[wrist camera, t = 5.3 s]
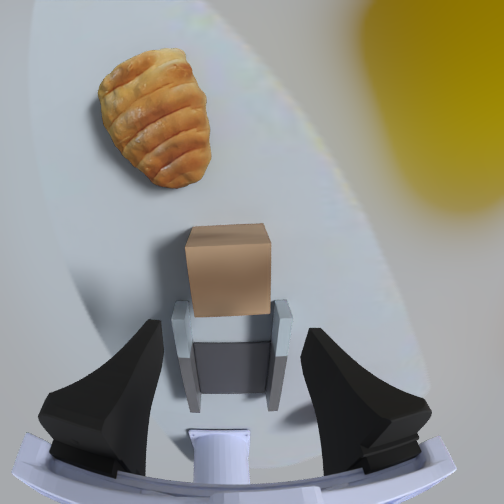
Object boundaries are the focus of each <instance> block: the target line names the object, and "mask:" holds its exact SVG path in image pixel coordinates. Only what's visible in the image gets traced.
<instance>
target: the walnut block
mask: <svg viewBox="0 0 504 504" xmlns="http://www.w3.org/2000/svg"><path fill="white" fill-rule="evenodd" d="M185 252H186V260H187V268H188V276H189V283H190V290H191V296H192V303H193V309H194V316H195V317H221V316H242V315H258V314H270V295H271V241H270V239H269V236H268V234H267V231H266V229H265V226H264V224H263V223H260V224H236V225H216V226H198V227H193V228H192V230H191V233H190V235H189V238H188V241H187V243H186V246H185Z"/></svg>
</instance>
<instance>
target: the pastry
mask: <svg viewBox="0 0 504 504" xmlns="http://www.w3.org/2000/svg"><path fill="white" fill-rule="evenodd" d="M98 97H99V99H100V103H101V113H102V120H103V124H104V126H105V128H106V129H107V131H108V133H109V134H110V135H111V138H112V140H113V142H114V144H115V146H116V147H117V148H118V149H119V150H120V152H121V153H122V155H123V156H124V157H125V158H126V159H128V160H129V161H130V162H131V164H132V165H133V166H134V167H136V168H138V169H139V170H140V171H141V172H143V173H144V174H145V175H146V176H147V177H148V178H149V179H150V181H151V182H152V183H154V184H155V185H158V186H161V187H167V188H176V189H178V188H181V187H185V186H187V185H189V184H192V183H195V182H197V181H199V180H201V178H202V177H203V175H204V173H205V171H206V169H207V166H208V164H209V163H210V160H211V149H210V143H209V136H210V125H209V120H208V117H207V112H206V103H207V99H206V95H205V93H204V92H203V91H202V90H201V89H200V88H199V86H198V84H197V81H196V79H195V77H194V75H193V73H192V68H191V66H190V64H189V63H188V62H187V61H186V54H185V52H184V51H182V50H180V49H177V48H171V49H169V48H163V49H160V50H151V51H146V52H144V53H141V54H140V55H137V56H134V57H132V58H130V59H128V60H127V61H125V62H123V63H121V64H119V65H118V66H117V67H116V68H114V70H113V71H112V72H111V73H110V74H108V75H107V76H106V77H105V78H104V79H103V81H102V83H101V84H100V86H99V90H98Z"/></svg>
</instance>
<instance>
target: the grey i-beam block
mask: <svg viewBox="0 0 504 504" xmlns="http://www.w3.org/2000/svg"><path fill="white" fill-rule="evenodd" d="M171 322H172V328H173V333H174V339H175V344H176V350H177V355H178V360H179V365H180V370H181V374H182V379H183V384H184V388H185V392H186V397H187V401H188V405H189V409H190V412H192V413H200V404H201V394H241V393H264V392H265V388H266V393H265V394H266V400H267V407H268V411H278V407H279V402H280V396H281V391H282V385H283V379H284V374H285V368H286V362H287V356H288V349H289V343H290V336H291V330H292V323H293V316H292V313H291V310H290V307H289V305H288V302H287V300H275V304H274V315H273V326H272V337H271V347H270V341H269V342H238V343H196V342H194V346H193V338H192V330H191V322H190V313H189V304H188V301H176V303H175V307H174V311H173V314H172V318H171ZM194 348H195V353H194ZM269 350H270V356H269ZM195 355H196V360H195ZM268 360H269V366H268ZM196 362H197V367H196ZM197 369H198V373H197ZM267 370H268V375H267ZM198 376H199V380H198ZM266 379H267V384H266ZM199 382H200V386H199ZM200 388H201V392H200Z"/></svg>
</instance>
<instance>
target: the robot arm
mask: <svg viewBox="0 0 504 504" xmlns="http://www.w3.org/2000/svg"><path fill="white" fill-rule="evenodd" d="M163 355H164V346H163V337H162V327H161V321H160V320H151V319H148V320H147V321H146V322H145V324H144V325H143V326H142V327H141V328H140V329H139V331H138V332H137V333H136V334H135V335H134V336H133V337H132V338H131V339H130V340H129V341H128V343H127V344H126V345H125V346H124V347H123V348H122V349H121V350H120V351H118V352H117V353H116V354H115V355H114V356H113V357H112V358H111V359H110V360H108V361H107V362H106V363H105V364H103V365H102V366H101V367H100V368H98V369H97V370H95V371H94V372H93V373H91V374H89V375H88V376H86V377H84V378H83V379H81V380H79V381H77V382H75V383H73V384H71V385H69V386H67V387H65V388H62V389H59V390H57V391H54V392H52V393H49V395H48V396H47V398H46V400H45V402H44V404H43V406H42V408H41V411H40V413H39V415H38V418H39V421H40V423H41V425H42V426H43V427H44V428H45V430H46V431H47V432H48V433H49V434H50V436H51V437H52V438H53V439H54V440H53V442H52V445H51V444H50V443H49V442H47V441H45V440H43V439H41V438H39V437H37V436H35V435H32V434H30V433H28V432H26V434H25V436H24V439H23V441H22V444H21V447H20V449H19V452H18V455H17V457H16V460H15V463H14V466H13V469H12V474H13V475H14V476H15V477H17V478H18V479H20V480H21V481H22V482H24V483H25V484H27V485H28V486H29V487H31V488H32V489H34V490H35V491H37V492H38V493H40V494H42V495H44V496H46V497H48V498H50V499H52V500H54V501H57V502H59V503H61V504H399V503H402V502H404V501H406V500H408V499H410V498H412V497H414V496H416V495H419V494H421V493H422V492H424V491H426V490H428V489H430V488H431V487H433V486H435V485H436V484H437V483H439V482H441V481H442V480H443V479H445V478H446V477H448V476H449V475H450V474H452V473H453V472H454V471H456V469H457V468H456V466H455V464H454V462H453V460H452V458H451V456H450V454H449V452H448V450H447V448H446V446H445V444H444V443H443V441H442V439H441V437H440V436H439V435H438V436H436V437H433V438H431V439H428V440H426V441H424V442H422V443H421V444H419V445H418V443H417V441H416V440H418V439H419V436H418V434H417V432H418V431H419V430H420V429H421V428H422V427H423V426H424V425H425V424H426V423H427V421H428V420H429V418H430V417H431V414H432V411H431V409H430V408H429V406H428V404H427V402H426V401H425V399H423V398H420V397H417V396H414V395H411V394H409V393H406V392H404V391H402V390H399V389H397V388H395V387H393V386H391V385H389V384H387V383H386V382H384V381H382V380H380V379H379V378H377V377H376V376H374V375H373V374H371V373H370V372H368V371H367V370H366V369H364V368H363V367H362V366H360V365H359V364H358V363H357V362H356V361H355V360H353V359H352V358H351V357H350V356H349V355H348V354H347V353H346V352H344V351H343V350H342V349H341V348H340V347H339V346H338V345H337V344H336V343H335V342H334V341H333V340H332V339H331V338H330V337H329V336H328V335H327V334H326V333H325V332H324V331H323V330H322V329H321V328H309V330H308V334H307V337H306V340H305V344H304V347H303V350H302V353H301V356H300V358H301V364H302V370H303V375H304V378H305V381H306V384H307V388H308V391H309V394H310V397H311V400H312V403H313V406H314V409H315V413H316V417H317V423H318V428H319V434H320V441H321V448H322V458H323V470H324V476H322V477H317V478H311V479H304V480H297V481H288V482H278V483H266V484H250V476H249V465H248V457H249V442H250V431H249V430H189V436H190V439H191V442H192V445H193V448H194V482H193V483H190V482H180V481H171V480H164V479H158V478H151V477H146V476H145V467H146V445H147V434H148V425H149V417H150V410H151V405H152V401H153V398H154V394H155V390H156V387H157V383H158V379H159V376H160V372H161V368H162V362H163Z"/></svg>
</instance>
